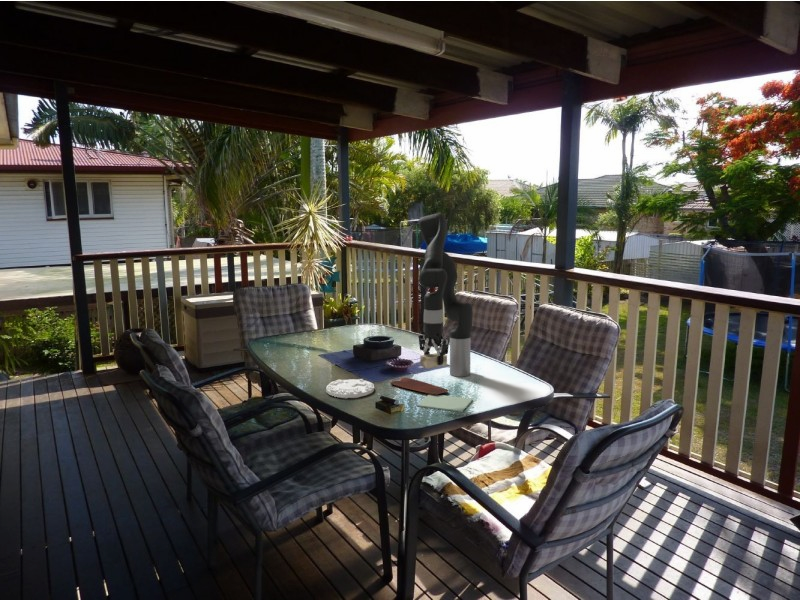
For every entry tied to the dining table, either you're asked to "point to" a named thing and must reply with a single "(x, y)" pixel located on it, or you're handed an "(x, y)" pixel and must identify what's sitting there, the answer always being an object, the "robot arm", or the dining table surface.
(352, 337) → the dining table surface
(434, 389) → the wooden tablet
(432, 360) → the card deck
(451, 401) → the mat
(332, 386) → the embossed medallion
